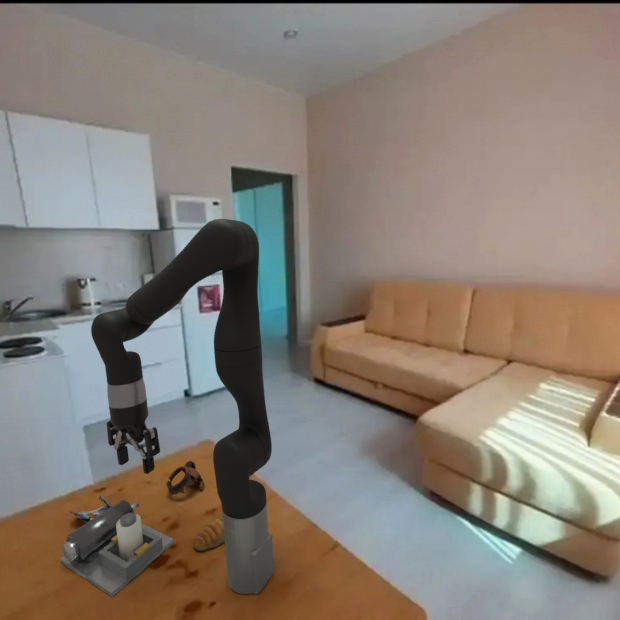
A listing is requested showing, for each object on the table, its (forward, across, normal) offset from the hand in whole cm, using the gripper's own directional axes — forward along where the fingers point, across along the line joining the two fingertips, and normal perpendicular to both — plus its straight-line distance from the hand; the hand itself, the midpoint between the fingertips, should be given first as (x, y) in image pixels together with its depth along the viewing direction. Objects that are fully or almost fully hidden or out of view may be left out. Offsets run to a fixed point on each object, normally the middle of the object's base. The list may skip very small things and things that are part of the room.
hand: (136, 467), depth 84 cm
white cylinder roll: (+21, +1, +3) cm, 21 cm away
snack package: (+22, +21, -2) cm, 30 cm away
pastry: (+22, -12, -10) cm, 27 cm away
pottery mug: (+22, +9, -22) cm, 32 cm away
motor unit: (+22, +6, +3) cm, 23 cm away
